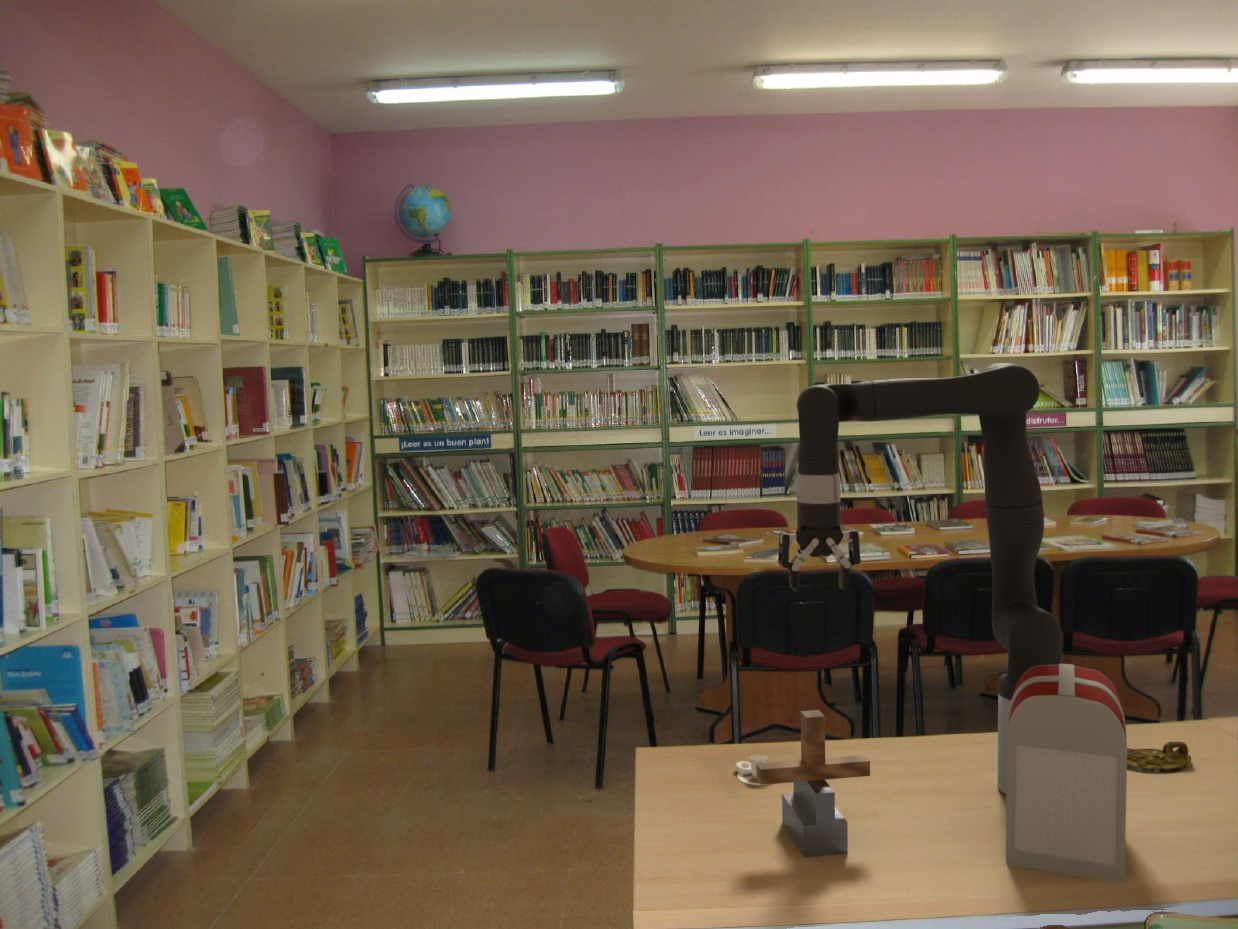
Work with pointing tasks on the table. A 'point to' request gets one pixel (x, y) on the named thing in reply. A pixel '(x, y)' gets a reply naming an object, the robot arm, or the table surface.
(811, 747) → the wooden t-shaped block
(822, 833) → the gray metal t-shaped block
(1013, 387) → the robot arm
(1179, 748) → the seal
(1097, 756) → the red-striped tombstone block
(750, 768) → the teacup and saucer
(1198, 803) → the table surface
